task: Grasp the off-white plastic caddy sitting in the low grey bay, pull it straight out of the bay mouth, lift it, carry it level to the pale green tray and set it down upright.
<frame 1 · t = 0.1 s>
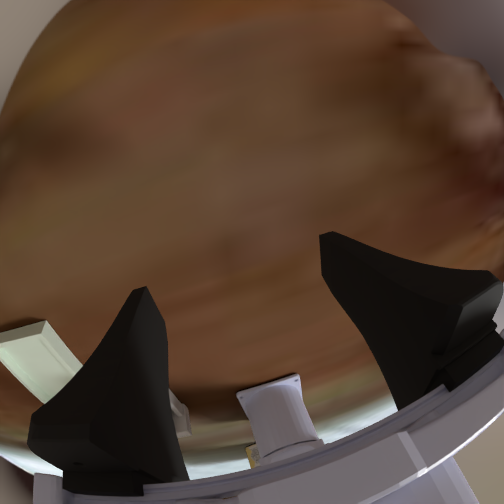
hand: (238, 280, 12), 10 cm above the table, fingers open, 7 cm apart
tray: (49, 366, 24), on the table
bay: (144, 393, 29), on the table
candy box: (264, 446, 45), on the table
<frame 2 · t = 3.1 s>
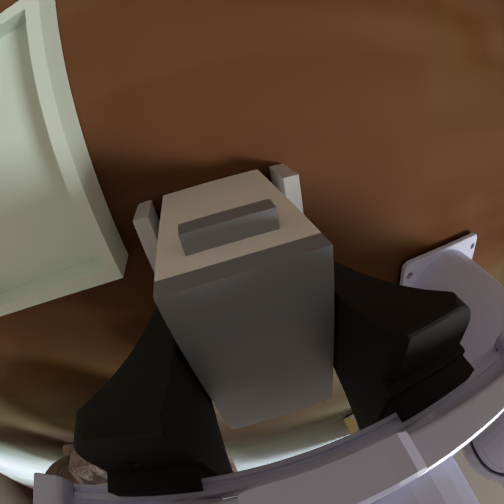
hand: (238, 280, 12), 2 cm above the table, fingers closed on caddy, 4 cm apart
pottery: (112, 433, 20), on the table
caddy: (229, 252, 13), on the table, touching gripper
bay: (229, 253, 13), on the table
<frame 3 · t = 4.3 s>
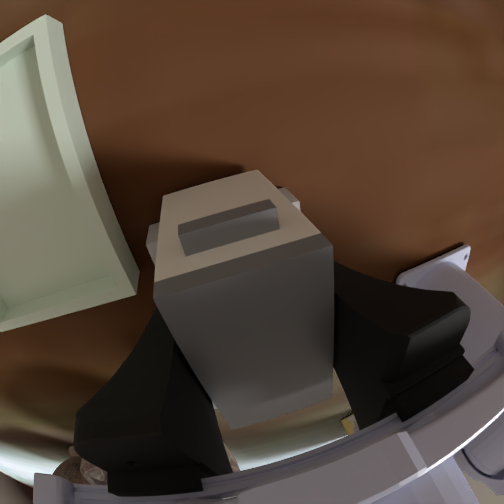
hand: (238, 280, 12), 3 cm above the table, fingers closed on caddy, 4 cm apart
tray: (12, 189, 9), on the table
pottery: (119, 435, 21), on the table
caddy: (229, 253, 13), on the table, touching gripper
bay: (234, 269, 14), on the table
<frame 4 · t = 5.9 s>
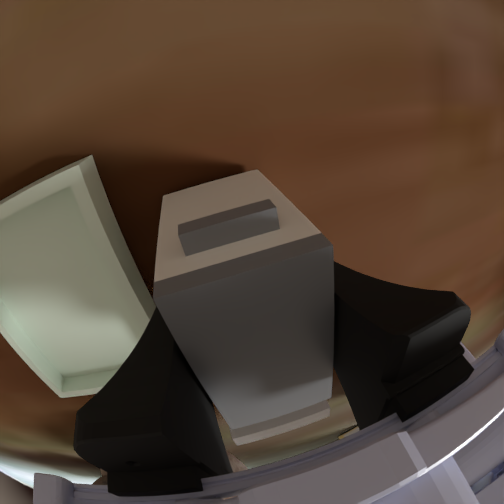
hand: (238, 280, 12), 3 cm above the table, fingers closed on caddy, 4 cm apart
tray: (65, 297, 13), on the table
pottery: (149, 456, 25), on the table
caddy: (229, 253, 13), on the table, touching gripper
bay: (256, 348, 18), on the table
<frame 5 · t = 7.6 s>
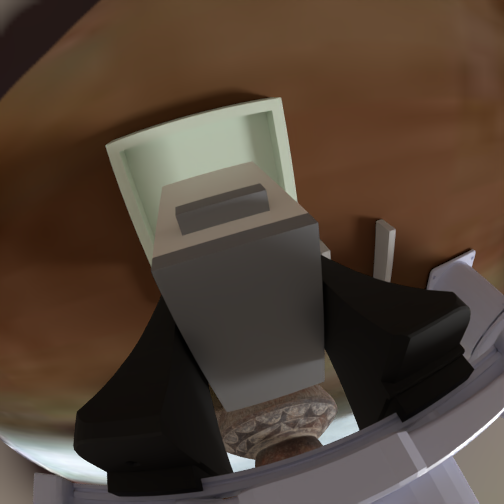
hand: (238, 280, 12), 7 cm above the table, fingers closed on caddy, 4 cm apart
tray: (216, 211, 18), on the table
pottery: (218, 408, 29), on the table
caddy: (225, 241, 14), point 4 cm above the table, touching gripper
bay: (349, 267, 23), on the table
when the fingers open (4 cm above the table, at t = 8.9 s): caddy stays where it is, resting on tray.
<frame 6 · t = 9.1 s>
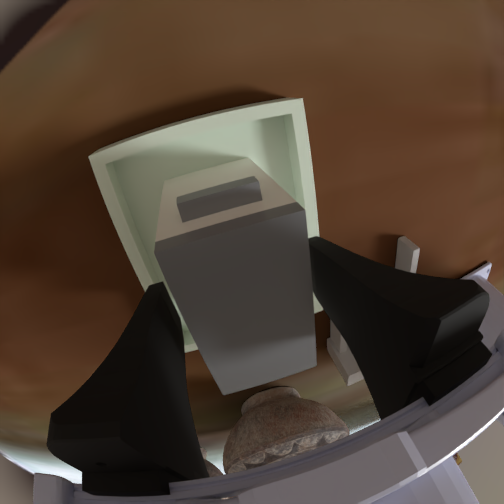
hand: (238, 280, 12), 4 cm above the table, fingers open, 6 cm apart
tray: (222, 232, 15), on the table
pottery: (222, 429, 27), on the table
caddy: (223, 234, 15), point 1 cm above the table, touching tray
bay: (367, 287, 20), on the table
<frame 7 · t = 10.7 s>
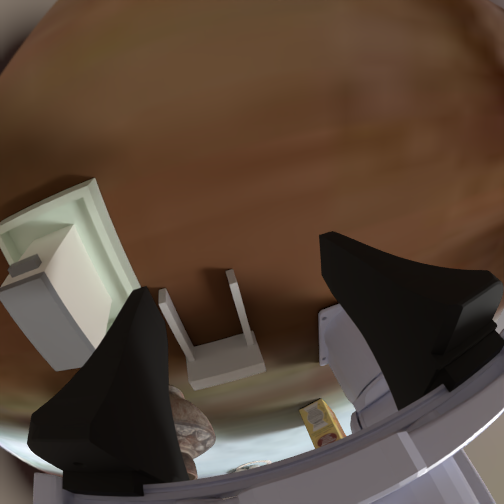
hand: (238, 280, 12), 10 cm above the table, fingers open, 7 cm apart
tray: (75, 269, 20), on the table
white headphones: (242, 463, 49), on the table
pottery: (133, 415, 31), on the table
caddy: (72, 271, 19), point 1 cm above the table, touching tray
bay: (207, 311, 25), on the table
candy box: (317, 410, 41), on the table
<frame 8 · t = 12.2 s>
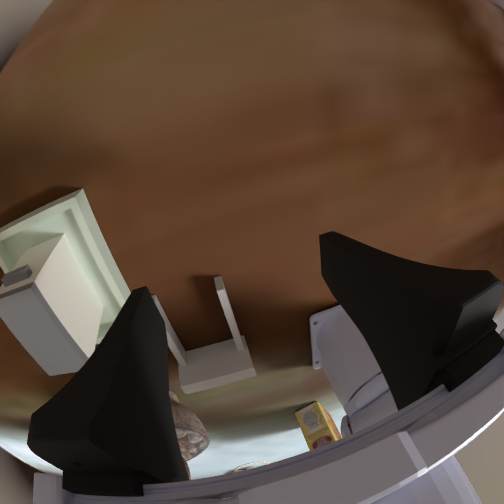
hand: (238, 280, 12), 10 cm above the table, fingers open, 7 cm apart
tray: (67, 276, 20), on the table
white headphones: (240, 464, 50), on the table
pottery: (129, 417, 32), on the table
caddy: (64, 279, 19), point 1 cm above the table, touching tray
bay: (197, 316, 25), on the table
candy box: (313, 412, 41), on the table
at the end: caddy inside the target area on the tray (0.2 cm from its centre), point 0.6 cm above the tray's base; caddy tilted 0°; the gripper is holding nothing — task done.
